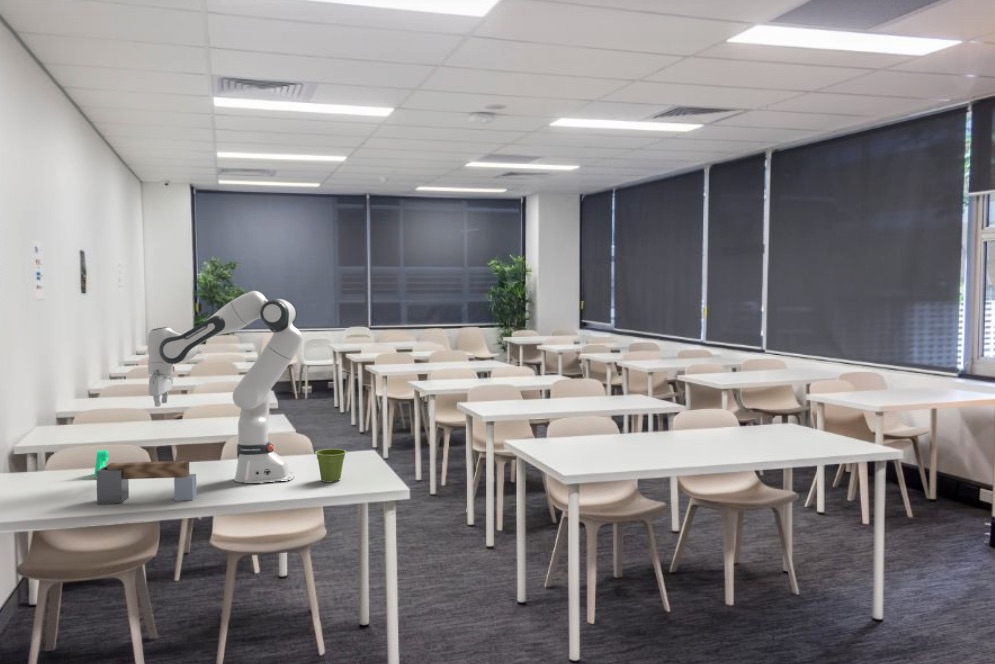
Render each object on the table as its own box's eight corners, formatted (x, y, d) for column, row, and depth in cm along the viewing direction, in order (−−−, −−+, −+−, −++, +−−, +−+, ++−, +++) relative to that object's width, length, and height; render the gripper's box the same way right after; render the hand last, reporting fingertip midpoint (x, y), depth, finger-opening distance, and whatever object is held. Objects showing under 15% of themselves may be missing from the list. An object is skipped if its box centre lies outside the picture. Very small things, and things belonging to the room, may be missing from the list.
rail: (189, 474, 276) (189, 460, 276) (186, 477, 272) (186, 463, 272) (111, 477, 272) (110, 463, 272) (107, 479, 268) (107, 465, 268)
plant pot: (317, 485, 294) (317, 455, 293) (313, 478, 305) (313, 450, 304) (349, 482, 298) (349, 453, 298) (343, 476, 309) (343, 447, 309)
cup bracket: (128, 498, 275) (128, 465, 274) (121, 503, 267) (121, 470, 267) (104, 498, 274) (103, 466, 273) (97, 504, 266) (96, 471, 266)
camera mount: (116, 478, 305) (115, 452, 304) (94, 479, 303) (94, 453, 302) (122, 472, 316) (122, 446, 316) (101, 473, 314) (101, 447, 314)
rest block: (196, 496, 278) (196, 473, 277) (192, 500, 272) (192, 477, 271) (178, 496, 277) (178, 474, 276) (174, 501, 271) (174, 478, 270)
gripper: (161, 371, 292) (162, 408, 292) (175, 366, 312) (176, 401, 312) (143, 371, 291) (144, 408, 291) (159, 366, 311) (159, 401, 311)
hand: (161, 404), depth 302 cm, fingers open, 8 cm apart
